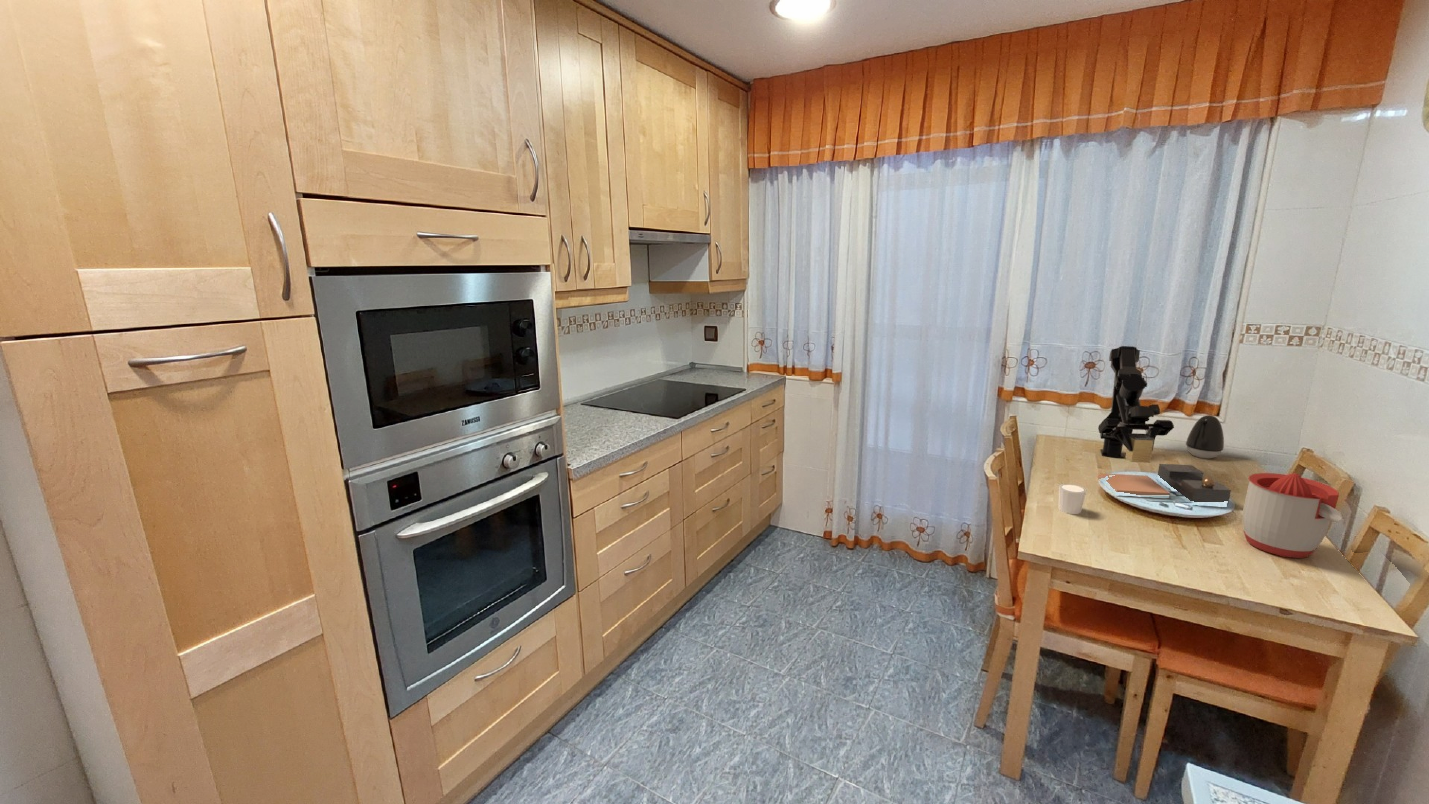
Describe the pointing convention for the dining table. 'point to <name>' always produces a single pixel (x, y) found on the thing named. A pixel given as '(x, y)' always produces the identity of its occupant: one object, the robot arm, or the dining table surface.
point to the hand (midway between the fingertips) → (1141, 451)
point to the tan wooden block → (1140, 448)
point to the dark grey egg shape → (1206, 438)
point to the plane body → (1193, 483)
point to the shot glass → (1071, 498)
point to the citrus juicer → (1288, 513)
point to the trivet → (1134, 484)
